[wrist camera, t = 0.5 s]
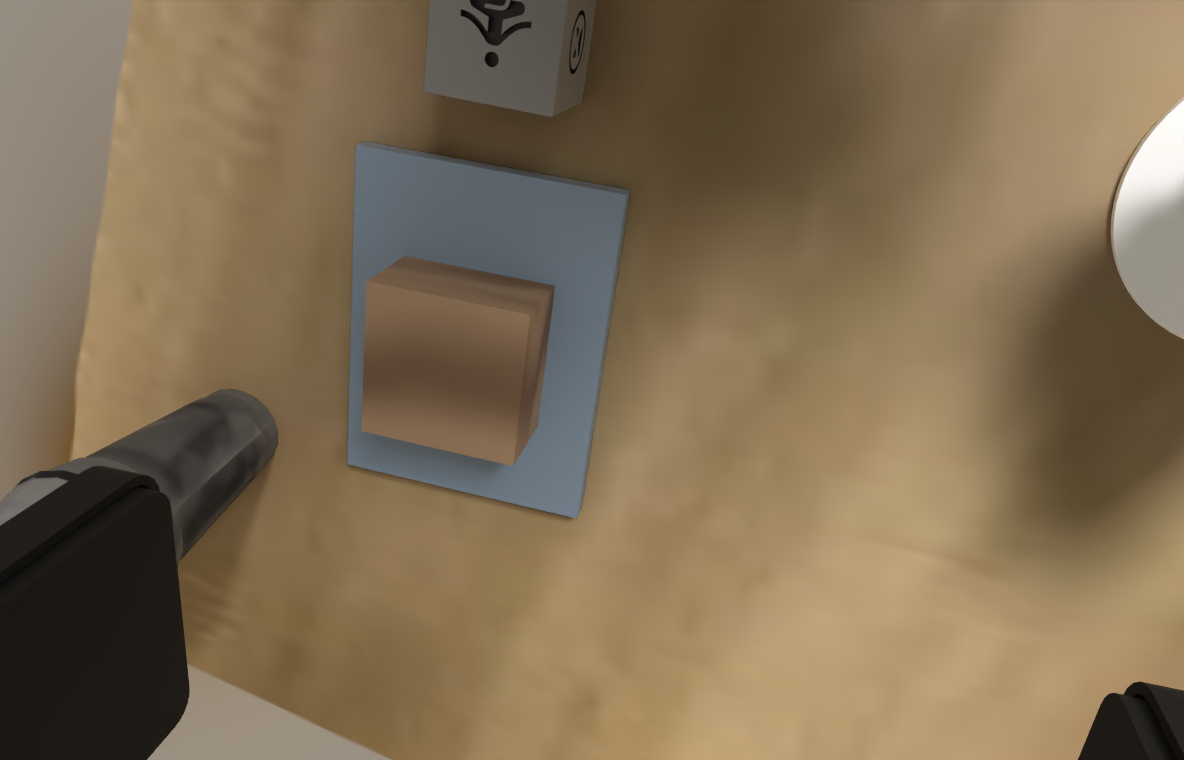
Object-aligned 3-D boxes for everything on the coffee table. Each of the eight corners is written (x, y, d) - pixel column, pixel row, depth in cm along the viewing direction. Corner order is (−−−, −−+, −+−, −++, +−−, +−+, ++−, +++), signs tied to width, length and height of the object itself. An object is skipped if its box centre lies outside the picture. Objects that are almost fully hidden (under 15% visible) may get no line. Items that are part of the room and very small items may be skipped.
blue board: (365, 141, 40) (355, 144, 39) (630, 190, 39) (626, 194, 38) (356, 455, 47) (347, 464, 46) (581, 508, 45) (576, 518, 44)
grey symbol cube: (601, -28, 36) (572, -32, 31) (582, 102, 38) (552, 117, 33) (480, -49, 36) (434, -56, 32) (468, 80, 38) (423, 92, 34)
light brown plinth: (404, 255, 41) (366, 280, 37) (555, 285, 40) (530, 314, 36) (397, 394, 44) (361, 431, 40) (537, 426, 43) (513, 466, 39)
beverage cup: (183, 343, 47) (-208, 564, 29) (313, 395, 46) (-1, 654, 28) (168, 458, 50) (-192, 723, 32) (290, 509, 49) (-6, 806, 31)
